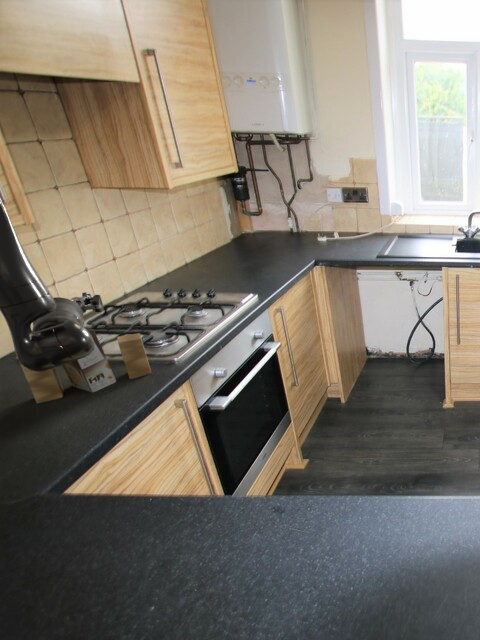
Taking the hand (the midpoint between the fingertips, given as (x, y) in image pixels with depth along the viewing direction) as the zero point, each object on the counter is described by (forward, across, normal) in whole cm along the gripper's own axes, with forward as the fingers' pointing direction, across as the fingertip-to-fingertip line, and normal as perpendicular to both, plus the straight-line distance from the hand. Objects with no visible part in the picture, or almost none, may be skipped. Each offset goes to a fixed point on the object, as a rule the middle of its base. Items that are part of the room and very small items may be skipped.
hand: (61, 299), depth 109 cm
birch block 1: (+11, +9, +28) cm, 31 cm away
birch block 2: (+11, -10, +28) cm, 31 cm away
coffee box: (+12, 0, +28) cm, 30 cm away
